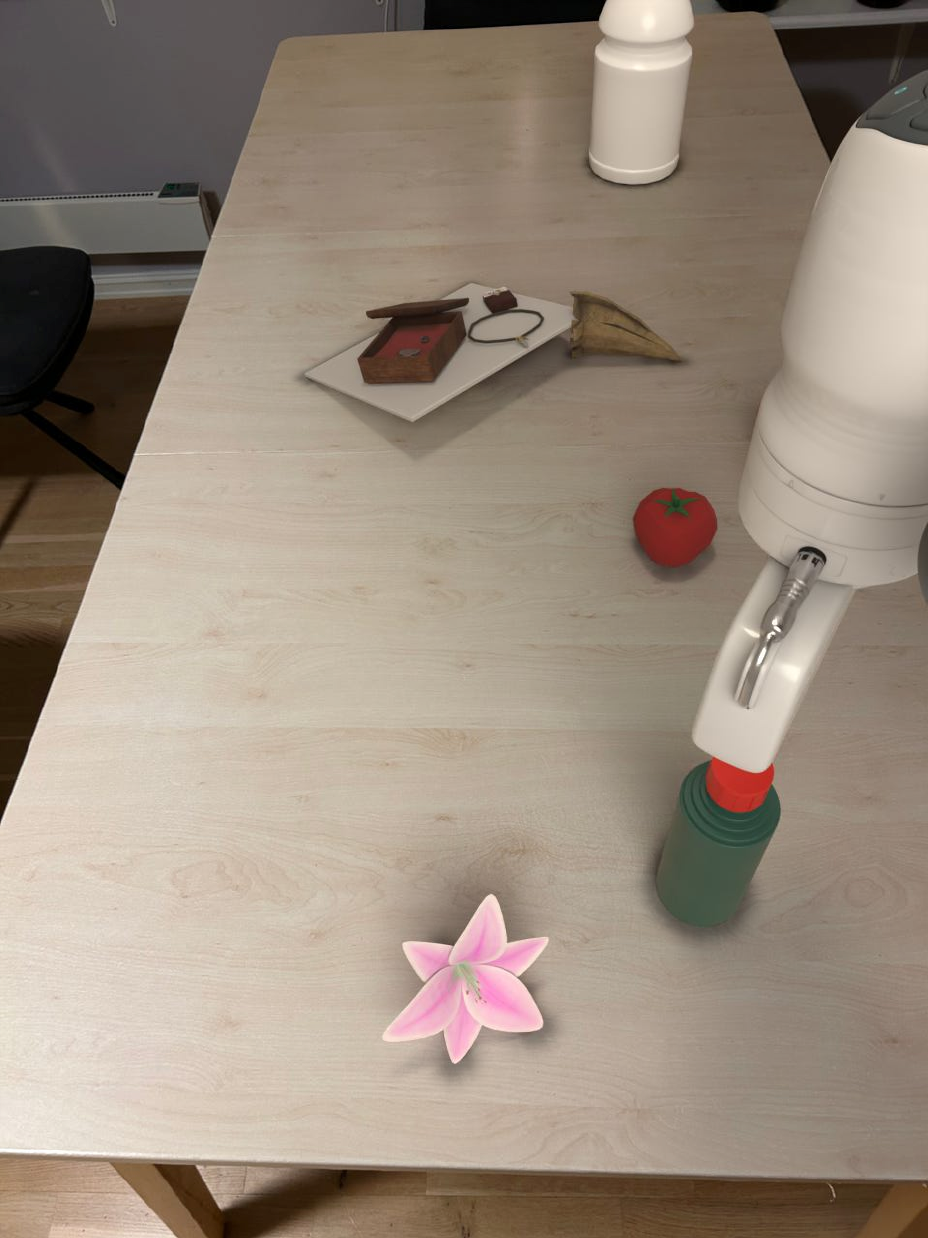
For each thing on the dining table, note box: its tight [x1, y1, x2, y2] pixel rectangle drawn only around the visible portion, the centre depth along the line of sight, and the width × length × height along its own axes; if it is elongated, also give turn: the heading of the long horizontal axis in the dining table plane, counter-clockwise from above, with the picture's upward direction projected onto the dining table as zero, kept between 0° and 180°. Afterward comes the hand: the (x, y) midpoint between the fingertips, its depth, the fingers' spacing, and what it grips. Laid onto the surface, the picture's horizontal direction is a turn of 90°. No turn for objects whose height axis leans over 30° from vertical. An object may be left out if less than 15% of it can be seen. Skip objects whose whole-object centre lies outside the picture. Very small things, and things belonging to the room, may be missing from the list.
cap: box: [705, 756, 775, 812], centre depth 60 cm, size 4×4×2 cm
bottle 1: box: [588, 0, 695, 185], centre depth 135 cm, size 14×14×28 cm
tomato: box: [632, 487, 718, 568], centre depth 93 cm, size 8×8×7 cm
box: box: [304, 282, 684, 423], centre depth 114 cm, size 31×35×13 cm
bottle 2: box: [655, 759, 782, 928], centre depth 66 cm, size 7×7×18 cm
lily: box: [381, 893, 550, 1065], centre depth 66 cm, size 12×12×10 cm
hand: (779, 672), depth 50 cm, fingers open, 6 cm apart
